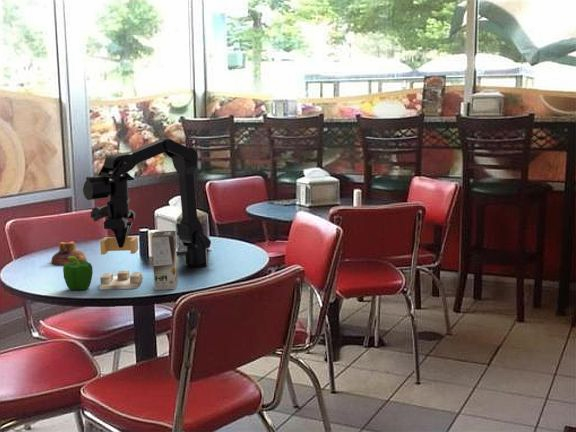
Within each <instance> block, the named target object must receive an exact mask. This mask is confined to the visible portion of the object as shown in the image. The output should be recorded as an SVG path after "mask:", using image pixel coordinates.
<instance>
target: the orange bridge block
mask: <svg viewBox="0 0 576 432" xmlns="http://www.w3.org/2000/svg"><path fill="white" fill-rule="evenodd" d="M99 243H100V245H99V246H100V255H106V254H107V253H108V252H115V251H116V252H119V251H123V252H124V251H130V254H131V255H132V254H136V253H137V252H138V250H139V237H138V236H137V235H134V236H129V235H128V236H127V237H126V239H125V242H124V245H123V247H122V248H119V246H118V243H117V240H116V237H115V236H105V237H103V238H102V239H101V240H100V242H99Z"/></svg>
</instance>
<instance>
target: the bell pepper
mask: <svg viewBox="0 0 576 432" xmlns="http://www.w3.org/2000/svg"><path fill="white" fill-rule="evenodd" d="M68 259H69V260H71V259H73V260H74V262H72V263H66V264H64V265H63V267H62V269H63V270H62V272H63V278H64V282H65V285H66V287H67V288H68V289H69V290H70V291H76V290H81V291H82V290H87V289H89V288H90V285H91V284H92V279H93V273H94V271H93V265H92V263H91V262H88V260H86V261H82V262H78V259H77V258H76V257H72V256H70V257H68Z"/></svg>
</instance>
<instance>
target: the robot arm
mask: <svg viewBox="0 0 576 432" xmlns="http://www.w3.org/2000/svg"><path fill="white" fill-rule="evenodd" d="M161 154H164V155H166V156H167V157H168V158H171V160H172V164H173V167H174V169H175V171H176V173H177V175H178V180H179V181H178V183H179V192H180V193H179V194H180V204H181V206H180V207H181V216H182V218H181V220H180V222H179V223H178V222H177V223H176V229H177V230H176V231H177V233H176V236H178V238H179V240H180V241H181V242H182V244H183V247H186V251H185V252H184V253H185V264H186V267H189V268H191V267H193V268H194V267H207V266H208V253H207V252H208V251H207V249H208V248H210V247H211V243H212V241H211V240H210V239H209V237H208V236H206V235H205V231H204V228H203V223H202V222H201V221H200V219H199V217H198V210H197V200H196V199H197V198H196V196H197V195H196V186H195V185H196V184H195V172H196V169H197V168H198V160H199V158H198V152H197V150H196V149H195V148H193V147H187V146H186V145H183V144H181V143H178V142H176V141H175V140H172V139H171V138H170V137H168V138H167V137H162V138H161V137H160V138H158V139H157V140H155V141H153V142H150V143H147V144H145V145H143V146H141V147H137V148H134V149H133V150H130V151H126V152H118V153H113V154H109V155H107V156H105V159H104V162H103V165H102V166H101V169H100V171H99V172H98V174H97V176H86V178H85V180H86V181H85V182H84V184H83V187H82V193H83V196H84V198H85V199H86V200H87V201H93V200H100V199H107V198H108V200H107V201H106V205H103V206H100V207H99V206H96V207H93V208H91V211H90V212H89V213H90V218H92V219H93V220H92V221H93V222H94V223H95V222H97V221H99V220H101V219H103V218H106V217H107V219H105V220H104V221H103V230H111V231H112V232H113V233H114V237H116V240H117V243H118V246H119V248H122V247H123V245H124V242H125V239H126V237H128V236H129V233H130V230H131V228H132V225H133V221H129V220H128V219H131V220H135V219H136V211H134V210H133V209H130V202H131V198H130V197H129V184H128V182H130V181H134V180H135V179H134V177H133V176H132V175H130V173H129V172H130V171H131V170H133V169H134V168H135V167H136V166H137V165H138V164H140V163H142V162H145V161H147V160H150V159H151V158H155V157H157V156H159V155H161Z"/></svg>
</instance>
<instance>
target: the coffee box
mask: <svg viewBox="0 0 576 432" xmlns="http://www.w3.org/2000/svg"><path fill="white" fill-rule="evenodd" d="M176 231H177V230H161V231H154V233H153V234H152V236H151V242H152V243H151V244H152V263H153V264H152V265H153V268H152V269H153V282H154V283H153V285H154V290H155V291H163V290H164V291H165V290H175V289H176V288H177V286H178V283H179V279H178V277H179V276H178V275H179V274H178V257H177V255H178V254H177V233H176Z"/></svg>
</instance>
